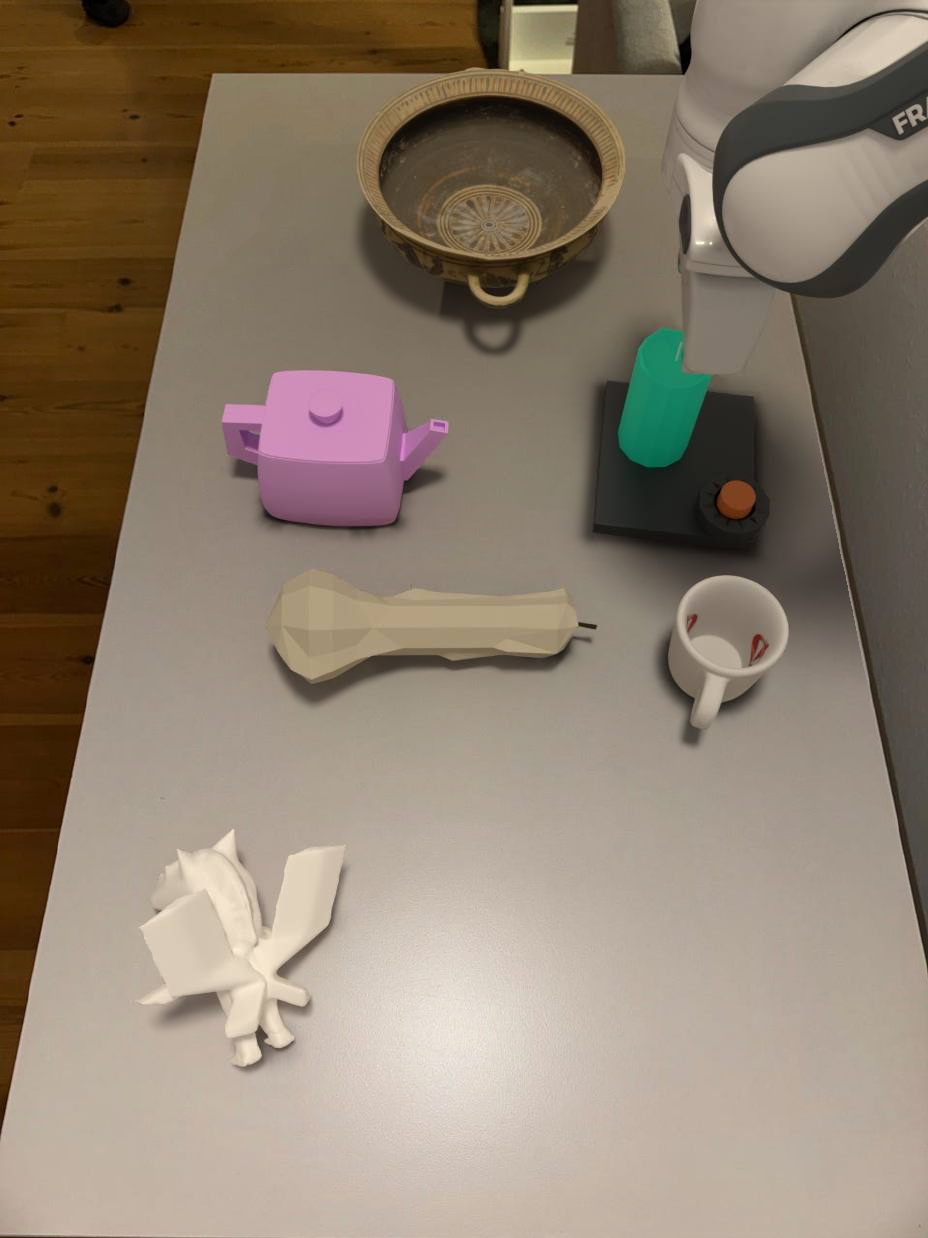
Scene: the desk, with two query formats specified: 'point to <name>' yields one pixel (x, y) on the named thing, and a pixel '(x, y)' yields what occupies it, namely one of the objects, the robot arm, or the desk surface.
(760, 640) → the cup
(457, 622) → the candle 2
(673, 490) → the scale
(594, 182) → the ceramic bowl
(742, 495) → the button
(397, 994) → the desk surface
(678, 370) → the candle
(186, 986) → the figurine
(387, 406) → the teapot
